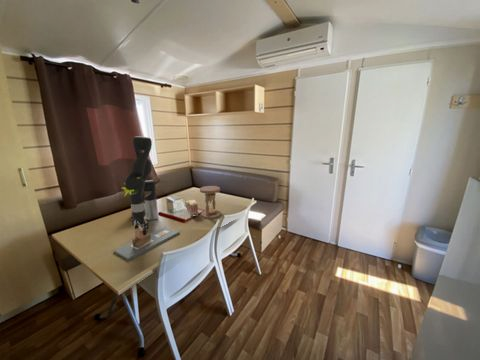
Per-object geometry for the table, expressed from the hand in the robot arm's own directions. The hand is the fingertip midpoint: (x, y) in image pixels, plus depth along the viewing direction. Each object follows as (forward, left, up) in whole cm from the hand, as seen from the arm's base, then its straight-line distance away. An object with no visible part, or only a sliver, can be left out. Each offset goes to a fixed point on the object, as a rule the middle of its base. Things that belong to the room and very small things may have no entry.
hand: (141, 233), depth 130 cm
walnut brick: (0, 0, -7) cm, 7 cm away
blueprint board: (0, +5, -9) cm, 10 cm away
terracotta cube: (0, 0, -2) cm, 2 cm away
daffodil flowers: (-54, +29, -9) cm, 62 cm away
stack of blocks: (-12, +57, -9) cm, 59 cm away
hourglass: (+6, +62, -9) cm, 63 cm away
